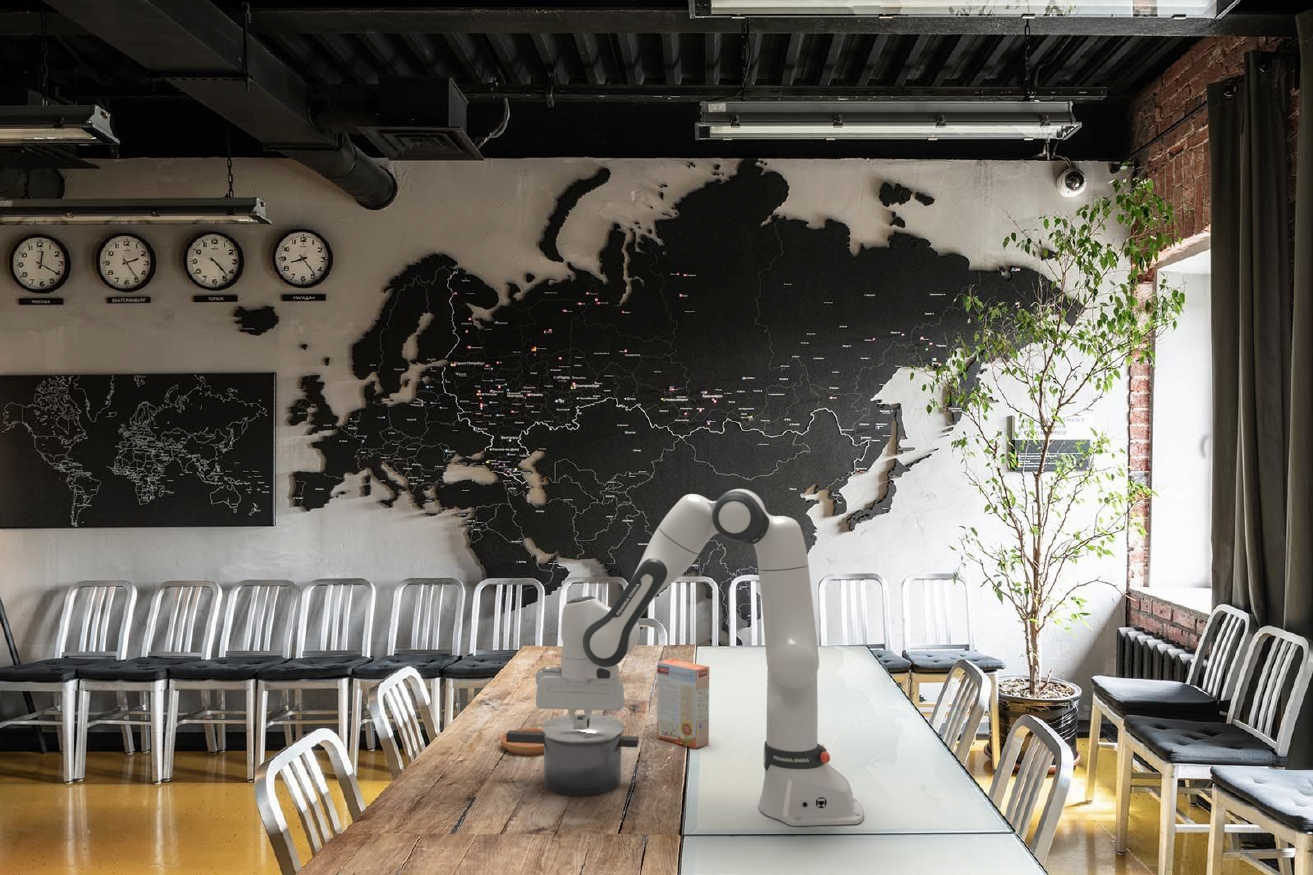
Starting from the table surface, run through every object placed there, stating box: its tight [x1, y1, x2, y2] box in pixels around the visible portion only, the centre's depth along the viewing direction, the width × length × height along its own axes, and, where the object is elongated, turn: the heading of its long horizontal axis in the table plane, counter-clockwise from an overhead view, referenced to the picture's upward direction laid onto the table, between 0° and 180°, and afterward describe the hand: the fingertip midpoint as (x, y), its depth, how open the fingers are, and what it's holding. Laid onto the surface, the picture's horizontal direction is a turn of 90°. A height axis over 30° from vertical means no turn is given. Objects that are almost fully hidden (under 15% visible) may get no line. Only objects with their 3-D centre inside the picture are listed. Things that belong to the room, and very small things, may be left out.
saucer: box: [499, 727, 544, 756], centre depth 244 cm, size 16×16×3 cm
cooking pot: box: [506, 730, 640, 798], centre depth 218 cm, size 31×18×12 cm, turn 84°
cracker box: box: [656, 658, 710, 750], centre depth 250 cm, size 14×6×21 cm, turn 47°
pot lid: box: [541, 713, 625, 744], centre depth 218 cm, size 19×19×3 cm
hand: (580, 728), depth 213 cm, fingers closed
